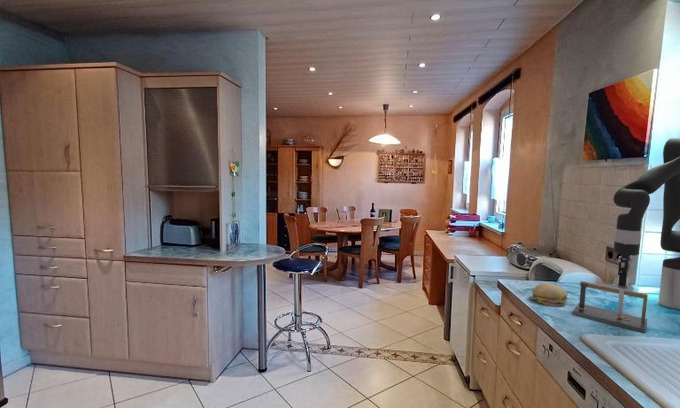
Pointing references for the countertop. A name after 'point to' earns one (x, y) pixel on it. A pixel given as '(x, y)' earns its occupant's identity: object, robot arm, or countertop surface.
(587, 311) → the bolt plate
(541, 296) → the burger
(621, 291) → the grey elongated rounded piece
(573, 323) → the countertop surface
